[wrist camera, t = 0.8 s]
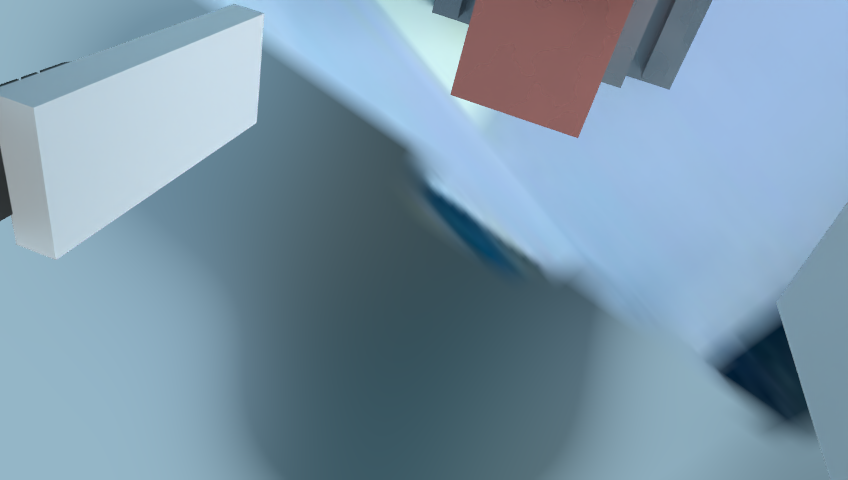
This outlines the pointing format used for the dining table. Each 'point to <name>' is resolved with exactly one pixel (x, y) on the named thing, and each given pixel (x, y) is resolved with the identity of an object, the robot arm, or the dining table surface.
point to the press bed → (658, 48)
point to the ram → (548, 56)
